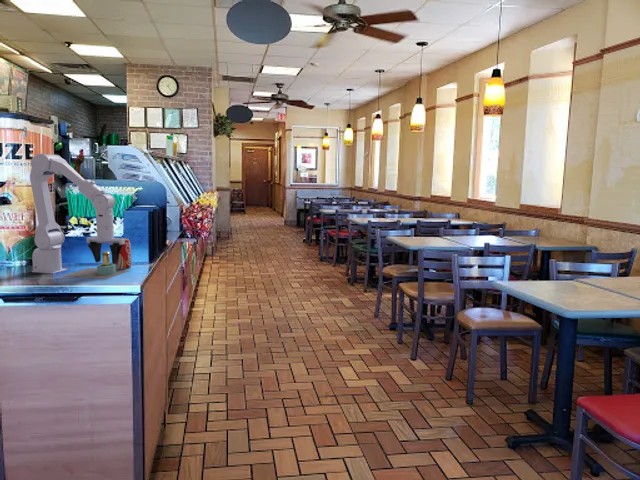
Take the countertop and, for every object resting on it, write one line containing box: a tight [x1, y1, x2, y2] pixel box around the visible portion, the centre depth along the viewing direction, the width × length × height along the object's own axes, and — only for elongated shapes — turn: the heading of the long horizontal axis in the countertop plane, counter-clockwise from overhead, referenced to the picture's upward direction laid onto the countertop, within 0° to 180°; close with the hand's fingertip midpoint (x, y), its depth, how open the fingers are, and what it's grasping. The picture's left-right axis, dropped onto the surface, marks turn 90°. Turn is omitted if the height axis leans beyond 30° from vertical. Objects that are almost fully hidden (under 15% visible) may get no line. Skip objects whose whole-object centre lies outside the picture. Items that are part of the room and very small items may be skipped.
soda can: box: [111, 237, 132, 270], centre depth 198 cm, size 7×7×12 cm
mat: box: [60, 267, 130, 280], centre depth 188 cm, size 18×16×1 cm
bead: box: [96, 263, 117, 275], centre depth 189 cm, size 6×6×3 cm
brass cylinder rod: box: [101, 250, 111, 266], centre depth 189 cm, size 2×2×8 cm
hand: (106, 262), depth 189 cm, fingers open, 6 cm apart
